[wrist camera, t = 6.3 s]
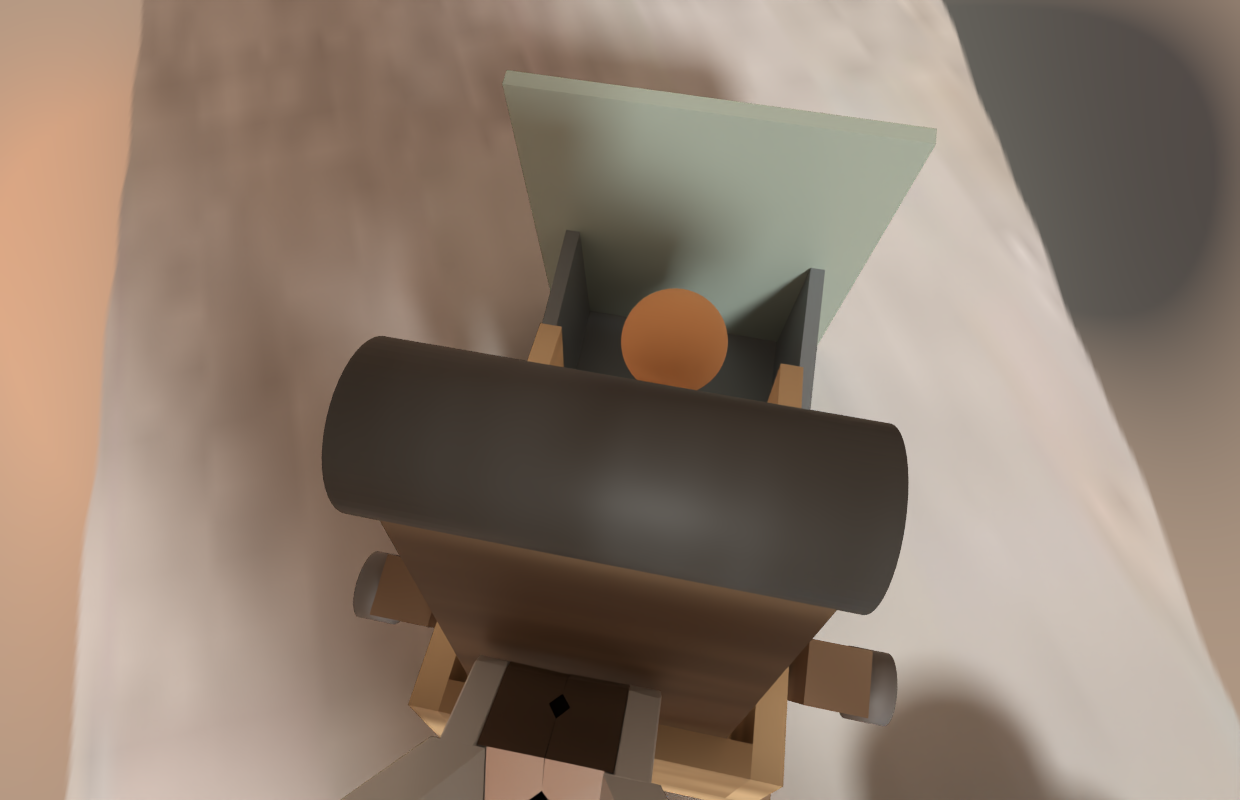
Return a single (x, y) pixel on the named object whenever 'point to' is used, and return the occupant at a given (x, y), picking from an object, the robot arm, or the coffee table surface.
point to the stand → (815, 676)
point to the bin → (704, 215)
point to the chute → (620, 533)
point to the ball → (674, 339)
